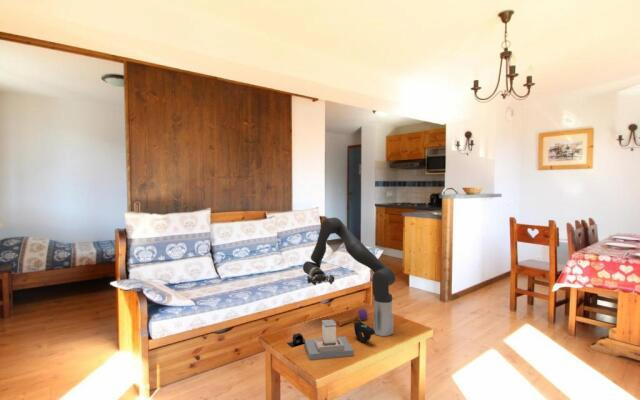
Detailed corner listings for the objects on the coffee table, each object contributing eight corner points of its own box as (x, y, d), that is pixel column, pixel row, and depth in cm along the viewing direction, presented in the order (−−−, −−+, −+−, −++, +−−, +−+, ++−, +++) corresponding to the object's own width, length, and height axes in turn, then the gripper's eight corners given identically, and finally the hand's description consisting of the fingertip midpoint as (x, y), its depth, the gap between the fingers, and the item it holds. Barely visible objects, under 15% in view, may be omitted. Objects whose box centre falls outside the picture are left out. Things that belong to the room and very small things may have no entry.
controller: (358, 336, 171) (358, 316, 170) (376, 345, 161) (376, 325, 160) (352, 338, 168) (352, 318, 168) (369, 348, 158) (369, 327, 158)
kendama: (334, 317, 185) (361, 307, 196) (336, 328, 185) (363, 317, 196) (340, 318, 180) (368, 308, 192) (342, 330, 180) (370, 319, 191)
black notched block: (289, 350, 156) (289, 340, 156) (282, 344, 163) (282, 334, 162) (312, 343, 163) (312, 334, 163) (304, 337, 169) (304, 329, 169)
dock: (345, 341, 165) (345, 331, 164) (353, 355, 151) (353, 344, 151) (304, 345, 161) (304, 334, 160) (309, 360, 147) (309, 348, 147)
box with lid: (332, 341, 158) (333, 319, 158) (336, 348, 152) (336, 325, 152) (321, 342, 157) (321, 320, 157) (324, 349, 151) (324, 326, 150)
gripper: (304, 268, 188) (309, 276, 173) (329, 267, 191) (336, 274, 176) (304, 282, 189) (309, 290, 173) (329, 280, 192) (336, 289, 176)
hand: (323, 282), depth 174 cm, fingers open, 8 cm apart
